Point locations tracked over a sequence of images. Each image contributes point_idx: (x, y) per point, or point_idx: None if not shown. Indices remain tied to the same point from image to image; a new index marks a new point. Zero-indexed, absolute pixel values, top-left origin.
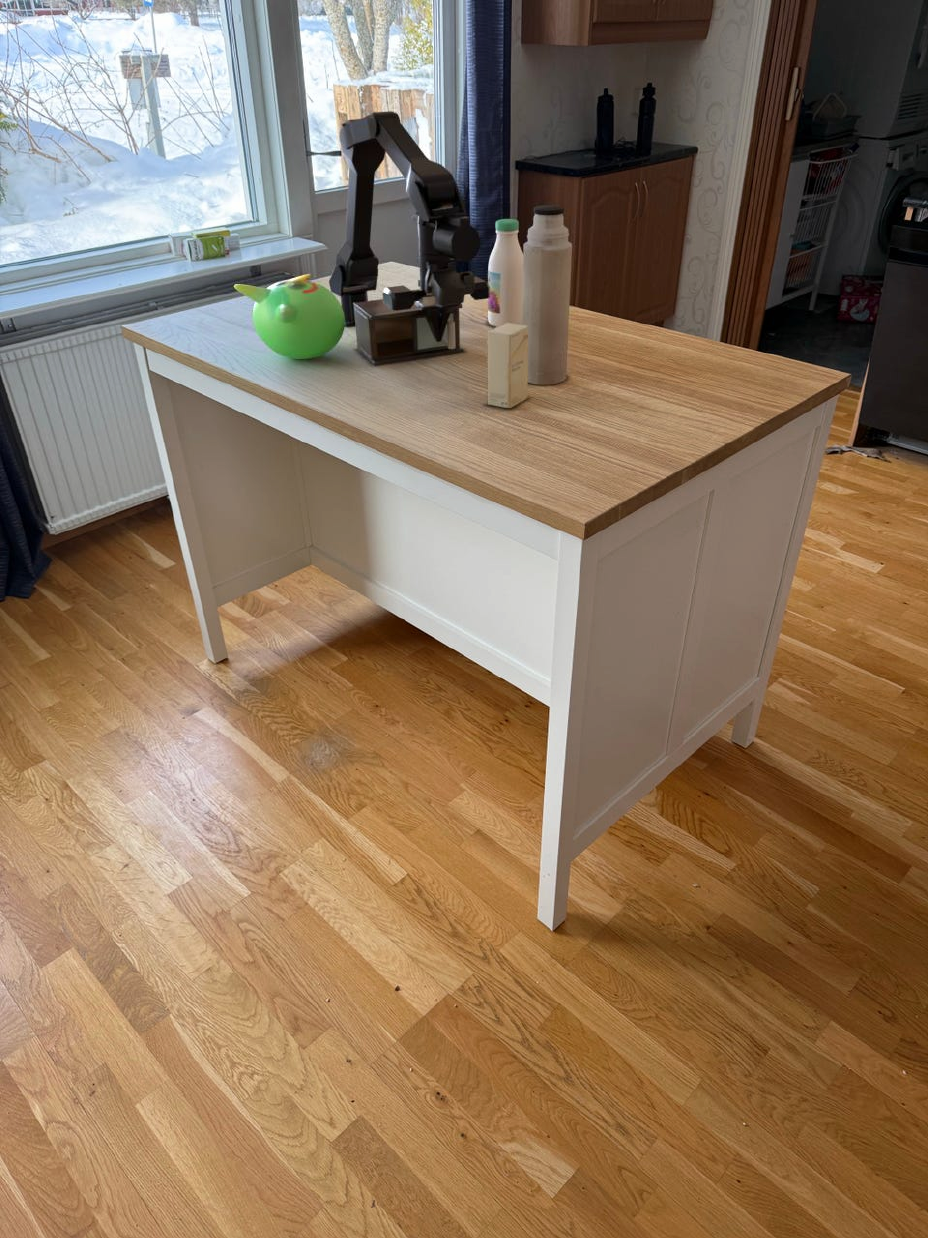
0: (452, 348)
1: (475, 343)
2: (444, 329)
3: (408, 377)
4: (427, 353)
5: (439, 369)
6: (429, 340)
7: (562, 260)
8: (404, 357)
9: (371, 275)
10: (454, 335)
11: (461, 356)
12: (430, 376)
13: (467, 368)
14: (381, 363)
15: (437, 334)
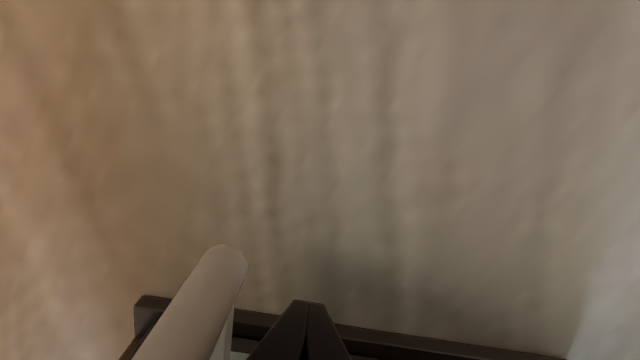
0: (230, 246)
1: (49, 351)
2: (255, 351)
3: (577, 139)
4: None
5: (368, 153)
6: None
7: None
8: (434, 350)
9: None
10: (178, 299)
11: (176, 252)
12: (477, 81)
13: (233, 76)
14: (540, 358)
15: (326, 336)
